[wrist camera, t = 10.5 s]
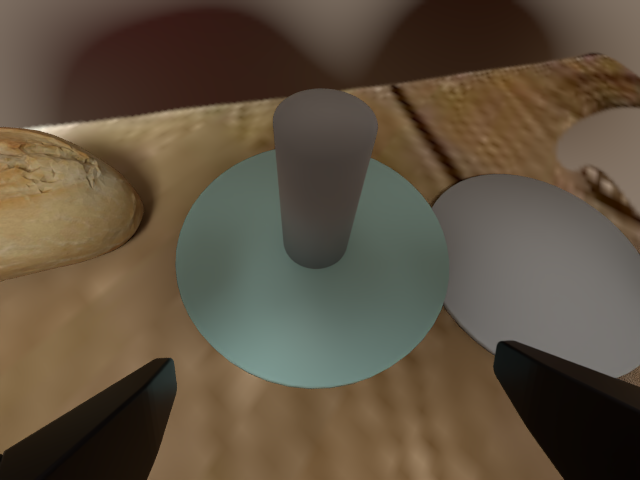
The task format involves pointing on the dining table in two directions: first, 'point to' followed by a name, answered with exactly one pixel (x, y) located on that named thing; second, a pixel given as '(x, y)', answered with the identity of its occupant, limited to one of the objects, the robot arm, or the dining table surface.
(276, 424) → the dining table surface
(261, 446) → the dining table surface
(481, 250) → the mat
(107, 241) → the bread roll
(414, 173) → the dining table surface
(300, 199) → the lid
